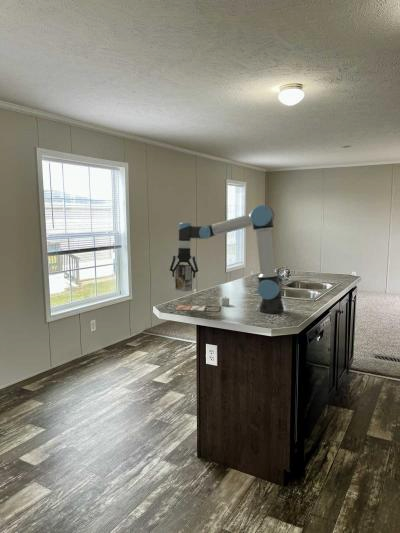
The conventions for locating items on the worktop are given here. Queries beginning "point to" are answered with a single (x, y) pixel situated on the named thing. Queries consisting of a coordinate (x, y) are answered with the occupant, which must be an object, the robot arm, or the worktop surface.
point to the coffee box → (184, 278)
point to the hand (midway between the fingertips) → (183, 282)
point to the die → (224, 301)
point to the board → (194, 308)
